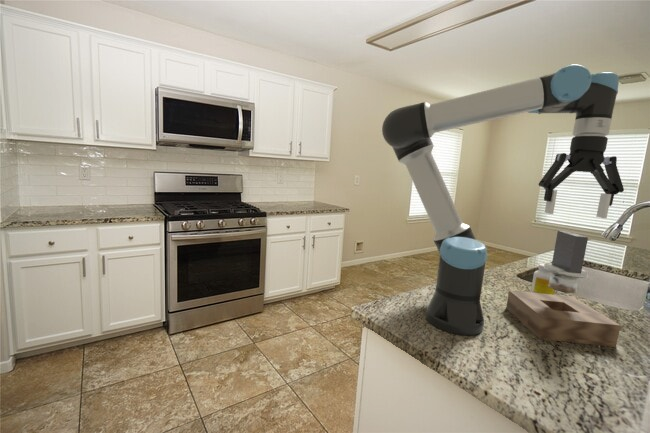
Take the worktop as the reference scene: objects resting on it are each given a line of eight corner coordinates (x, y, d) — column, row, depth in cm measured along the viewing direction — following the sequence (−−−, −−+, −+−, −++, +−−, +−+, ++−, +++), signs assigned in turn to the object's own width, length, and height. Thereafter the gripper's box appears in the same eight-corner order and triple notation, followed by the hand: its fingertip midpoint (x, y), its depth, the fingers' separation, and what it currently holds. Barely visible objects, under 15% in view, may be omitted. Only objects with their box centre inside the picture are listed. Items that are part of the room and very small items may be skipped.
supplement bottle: (556, 306, 108) (562, 269, 106) (534, 303, 109) (540, 267, 107) (546, 299, 115) (553, 264, 113) (526, 296, 116) (532, 261, 114)
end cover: (553, 293, 88) (564, 235, 85) (534, 281, 98) (543, 228, 95) (593, 297, 87) (605, 239, 84) (569, 284, 97) (579, 231, 94)
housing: (538, 338, 85) (542, 317, 84) (506, 308, 104) (509, 290, 103) (615, 347, 84) (620, 325, 83) (568, 314, 102) (572, 296, 101)
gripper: (548, 132, 83) (534, 213, 86) (653, 138, 81) (635, 221, 84) (532, 135, 91) (520, 210, 94) (628, 140, 88) (613, 217, 92)
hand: (574, 215), depth 89 cm, fingers open, 13 cm apart
